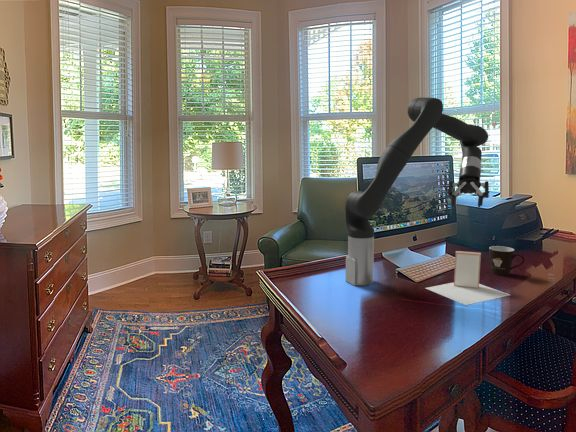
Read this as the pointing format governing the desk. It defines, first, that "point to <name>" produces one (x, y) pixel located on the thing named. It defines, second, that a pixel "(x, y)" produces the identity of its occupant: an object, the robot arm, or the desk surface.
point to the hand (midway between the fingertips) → (466, 205)
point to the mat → (467, 293)
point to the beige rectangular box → (467, 269)
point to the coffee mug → (502, 260)
